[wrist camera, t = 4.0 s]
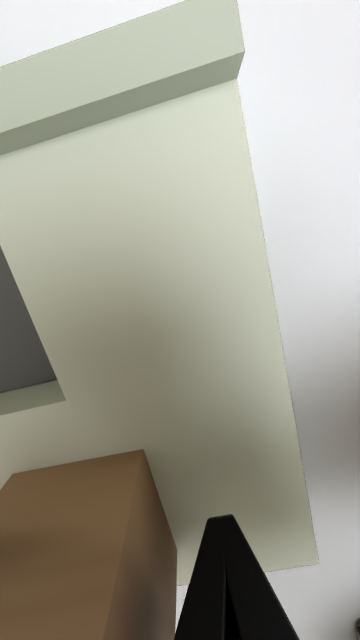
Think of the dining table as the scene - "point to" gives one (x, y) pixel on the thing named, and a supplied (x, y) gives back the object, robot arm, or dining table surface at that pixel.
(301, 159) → the dining table surface
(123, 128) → the trap tray
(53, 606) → the block
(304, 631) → the dining table surface
